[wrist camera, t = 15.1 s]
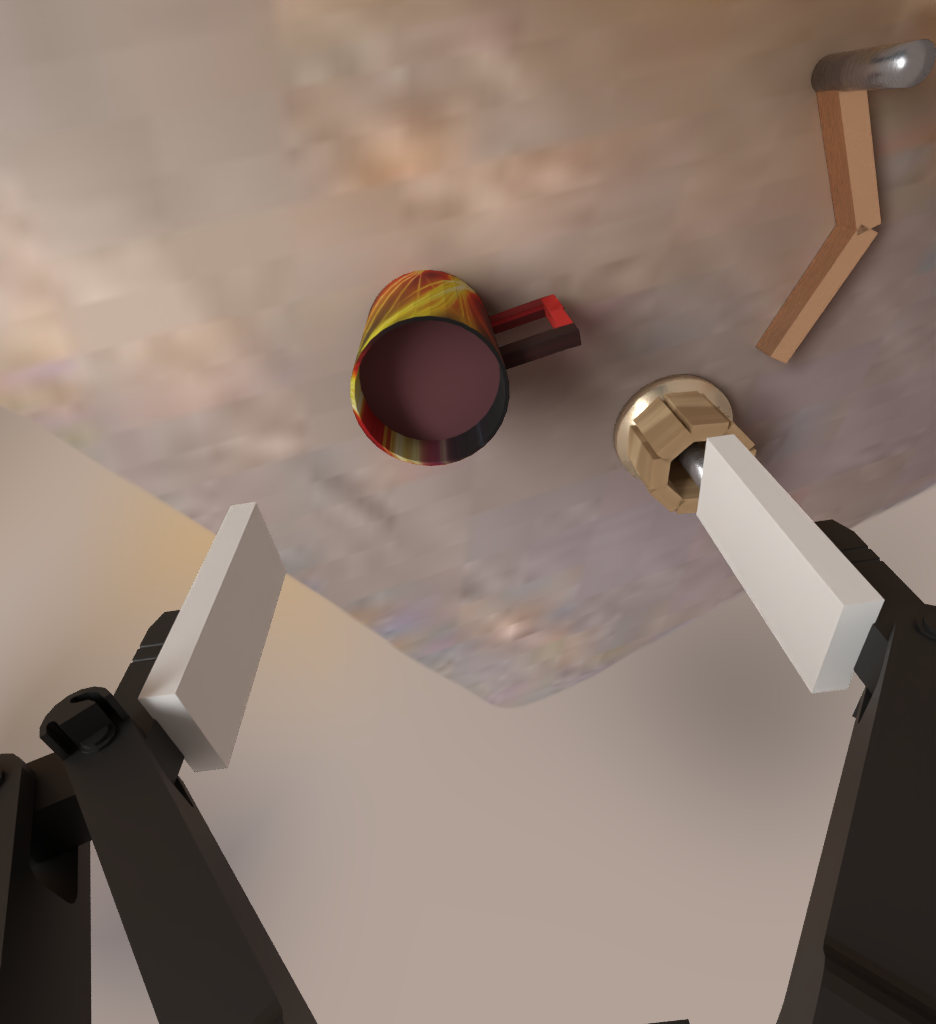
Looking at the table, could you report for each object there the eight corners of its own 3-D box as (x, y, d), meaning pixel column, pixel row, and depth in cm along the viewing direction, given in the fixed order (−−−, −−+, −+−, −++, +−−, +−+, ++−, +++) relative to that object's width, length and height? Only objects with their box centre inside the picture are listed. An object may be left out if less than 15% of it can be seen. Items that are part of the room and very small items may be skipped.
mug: (557, 298, 44) (597, 350, 34) (429, 416, 48) (431, 491, 38) (471, 193, 39) (487, 218, 29) (340, 334, 44) (316, 396, 34)
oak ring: (632, 396, 47) (657, 428, 42) (728, 387, 47) (764, 418, 42) (624, 479, 52) (645, 517, 47) (711, 471, 52) (742, 507, 47)
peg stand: (618, 379, 48) (654, 427, 40) (737, 369, 48) (794, 414, 40) (609, 482, 53) (639, 540, 46) (715, 472, 53) (762, 529, 46)
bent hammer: (816, 55, 36) (904, 40, 29) (908, 48, 36) (1017, 31, 30) (750, 355, 47) (804, 393, 40) (821, 348, 47) (886, 385, 41)
